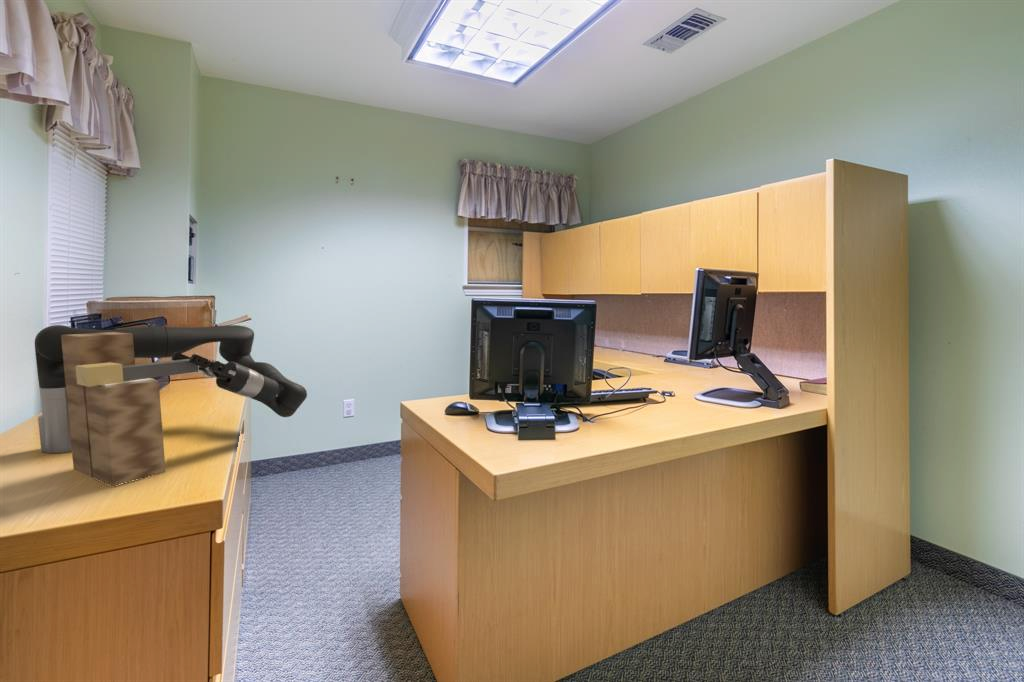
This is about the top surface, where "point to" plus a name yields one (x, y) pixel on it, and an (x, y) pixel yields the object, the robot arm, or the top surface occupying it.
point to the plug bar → (130, 371)
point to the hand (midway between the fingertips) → (182, 356)
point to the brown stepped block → (112, 413)
